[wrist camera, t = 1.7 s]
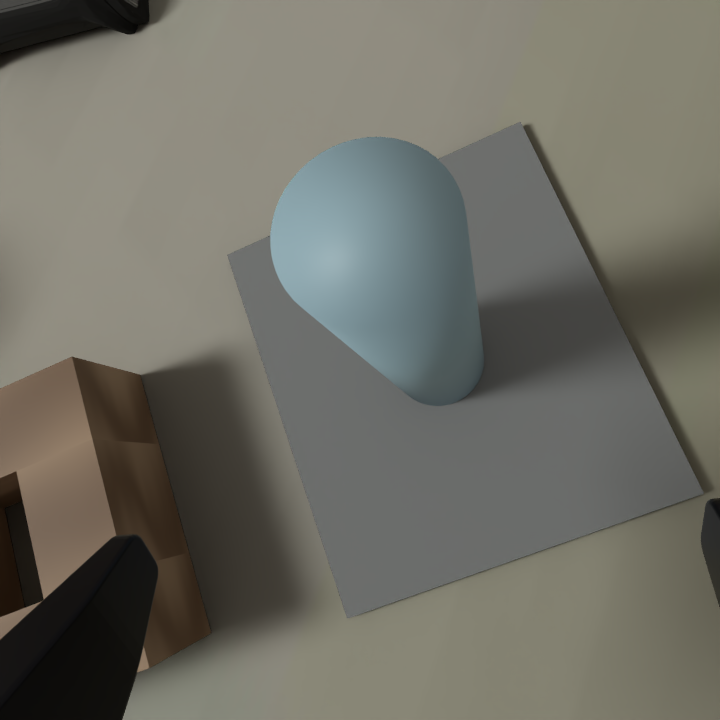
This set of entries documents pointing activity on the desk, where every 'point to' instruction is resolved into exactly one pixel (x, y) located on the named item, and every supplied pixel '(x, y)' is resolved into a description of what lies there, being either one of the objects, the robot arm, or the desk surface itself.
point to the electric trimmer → (65, 19)
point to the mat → (472, 406)
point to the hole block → (92, 492)
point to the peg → (385, 263)
